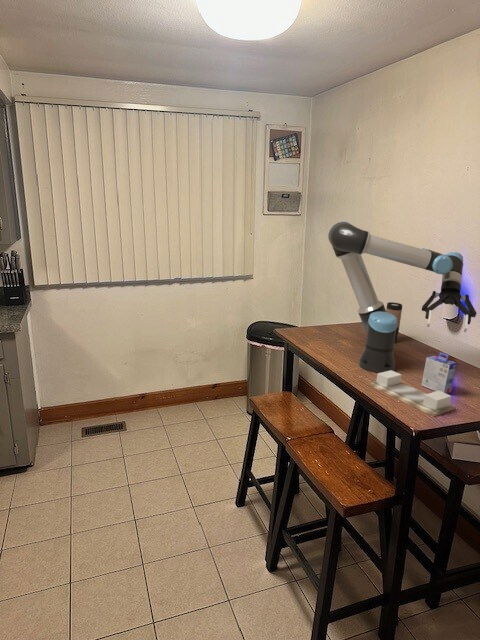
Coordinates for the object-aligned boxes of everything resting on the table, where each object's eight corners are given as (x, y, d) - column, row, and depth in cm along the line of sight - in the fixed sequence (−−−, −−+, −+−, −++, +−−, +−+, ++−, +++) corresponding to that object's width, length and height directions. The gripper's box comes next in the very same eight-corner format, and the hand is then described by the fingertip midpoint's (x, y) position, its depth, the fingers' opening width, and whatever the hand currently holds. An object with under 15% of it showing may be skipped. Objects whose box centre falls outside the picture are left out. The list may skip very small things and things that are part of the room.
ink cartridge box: (452, 392, 169) (458, 357, 165) (444, 395, 166) (451, 359, 162) (428, 383, 176) (434, 349, 173) (420, 385, 173) (426, 351, 169)
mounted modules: (376, 381, 171) (377, 373, 170) (389, 378, 175) (391, 370, 174) (435, 409, 150) (437, 400, 149) (449, 405, 154) (451, 395, 153)
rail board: (370, 385, 171) (370, 381, 170) (390, 380, 177) (391, 376, 177) (433, 416, 148) (434, 412, 148) (454, 409, 155) (455, 405, 154)
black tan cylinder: (378, 339, 230) (383, 302, 224) (389, 338, 233) (394, 301, 228) (389, 344, 223) (395, 306, 218) (400, 342, 227) (406, 305, 221)
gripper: (482, 293, 184) (479, 337, 174) (418, 286, 192) (412, 327, 183) (486, 282, 177) (483, 327, 168) (420, 276, 186) (414, 318, 177)
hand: (446, 327), depth 175 cm, fingers open, 13 cm apart
